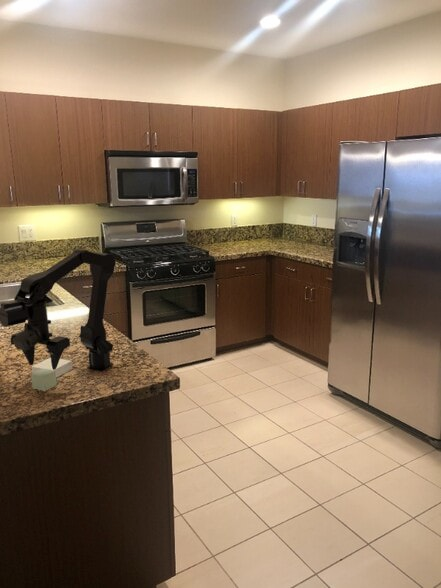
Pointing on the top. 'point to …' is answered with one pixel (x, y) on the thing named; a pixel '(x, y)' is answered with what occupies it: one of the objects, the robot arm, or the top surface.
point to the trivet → (46, 364)
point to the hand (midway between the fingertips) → (42, 366)
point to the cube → (43, 379)
